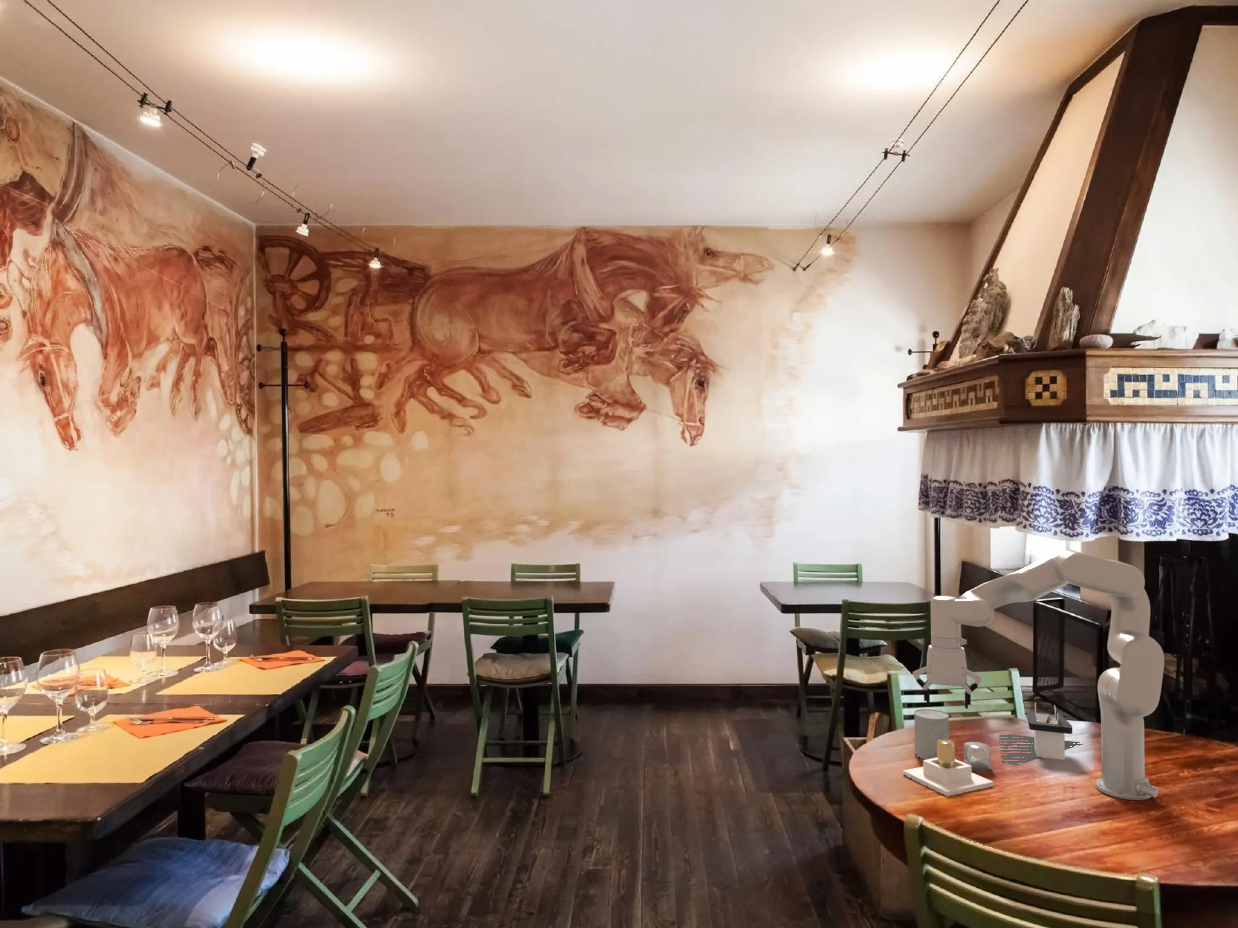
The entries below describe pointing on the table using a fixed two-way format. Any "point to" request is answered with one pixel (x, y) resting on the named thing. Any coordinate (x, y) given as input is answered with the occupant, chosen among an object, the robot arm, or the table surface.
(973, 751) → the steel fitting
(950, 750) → the cylinder
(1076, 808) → the table surface
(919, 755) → the grey cylinder
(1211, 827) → the table surface
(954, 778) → the flange socket
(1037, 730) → the black-topped pedestal
